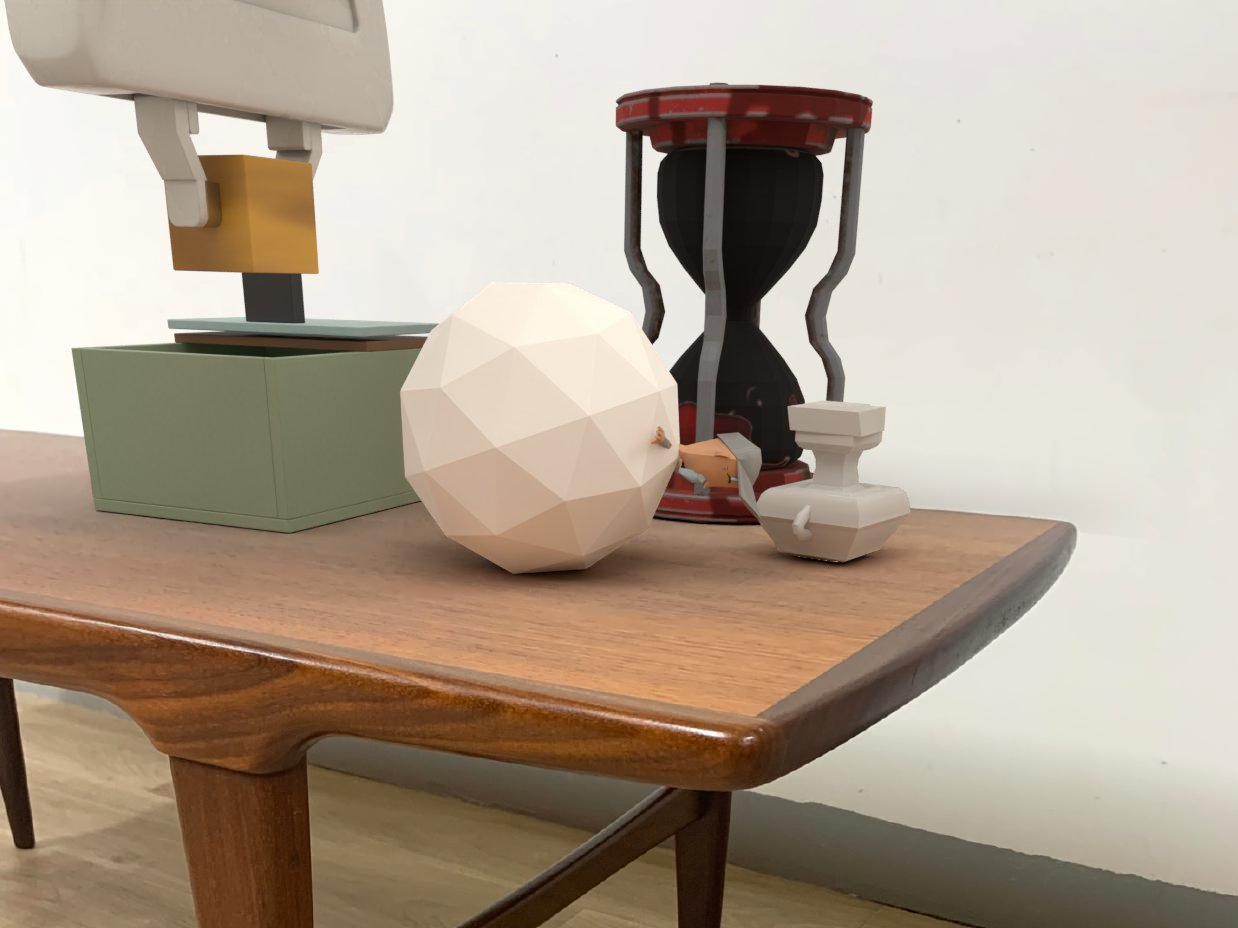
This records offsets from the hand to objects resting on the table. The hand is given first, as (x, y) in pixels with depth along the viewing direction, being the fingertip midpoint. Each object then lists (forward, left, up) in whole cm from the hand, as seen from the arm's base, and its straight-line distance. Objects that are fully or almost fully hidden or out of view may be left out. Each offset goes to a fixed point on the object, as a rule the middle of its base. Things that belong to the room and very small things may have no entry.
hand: (242, 230), depth 58 cm
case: (-17, +21, -16) cm, 32 cm away
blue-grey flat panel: (-17, +25, -5) cm, 31 cm away
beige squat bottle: (+22, +22, -17) cm, 35 cm away
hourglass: (+10, +36, -17) cm, 41 cm away
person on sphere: (+11, +11, -17) cm, 23 cm away
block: (0, 0, -2) cm, 2 cm away
